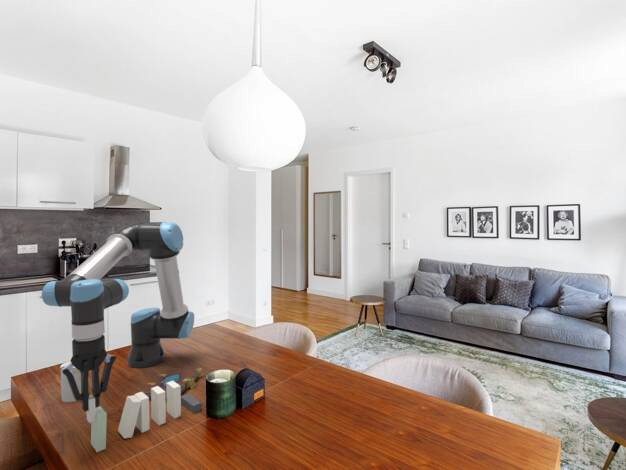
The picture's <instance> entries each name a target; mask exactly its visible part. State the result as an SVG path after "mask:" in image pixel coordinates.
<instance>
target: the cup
mask: <svg viewBox="0 0 626 470" xmlns="http://www.w3.org/2000/svg"><path fill="white" fill-rule="evenodd" d="M70 361H71V360H69V361H66V362H64V363H62V364H61V365H60V367H59V368H60V389H61V390H60V391H61V392H60V394H61V395H60V396H61V402H64V403H73V402H77V401H76V399H75V398H74V396H73V394H72V391H71V388H70V385H69V383H68V380H67V377H66V375H64V374H63V372H62V371H61V368H62V367H66V366H67V365H68V364H69V363H71V362H70ZM72 374H73V376H74V379H75V382H76V384H77V387H78V390H79V393H80V394H81V374H80V371H79V370H78V369H77V368H76V367H74V366H73V372H72ZM89 382H90V381H89V380H88V384H89Z"/></svg>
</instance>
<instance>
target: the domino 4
mask: <svg viewBox="0 0 626 470" xmlns="http://www.w3.org/2000/svg"><path fill="white" fill-rule="evenodd" d="M150 405H151V406H150V407H151V408H150V409H151V411H150V412H151V415H150V416H151V420H153V422H154V423H155V424H157V425H158V426H161V425H163V424H166V422H167V420H166V419H167V415H166V414H167V403H166V400H165V391H164V390H163V389H161V388H160V387H159V386H156V387H153V388H151V400H150Z"/></svg>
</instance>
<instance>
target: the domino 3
mask: <svg viewBox="0 0 626 470" xmlns="http://www.w3.org/2000/svg"><path fill="white" fill-rule="evenodd" d="M134 395H135V396H136V397H137V398H138V399H139V400H140V401H141V405H140V409H139V413H138V417H137V421H136V424H135V428H136V429H138V430H139V432H140V433H142V434H143V433H145V432H147V431H149V430H150V429H151V428H150V400H149V397H148V396H146V395H145V394H144V393H143V392H140V391H138V392H137V393H134Z"/></svg>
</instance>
